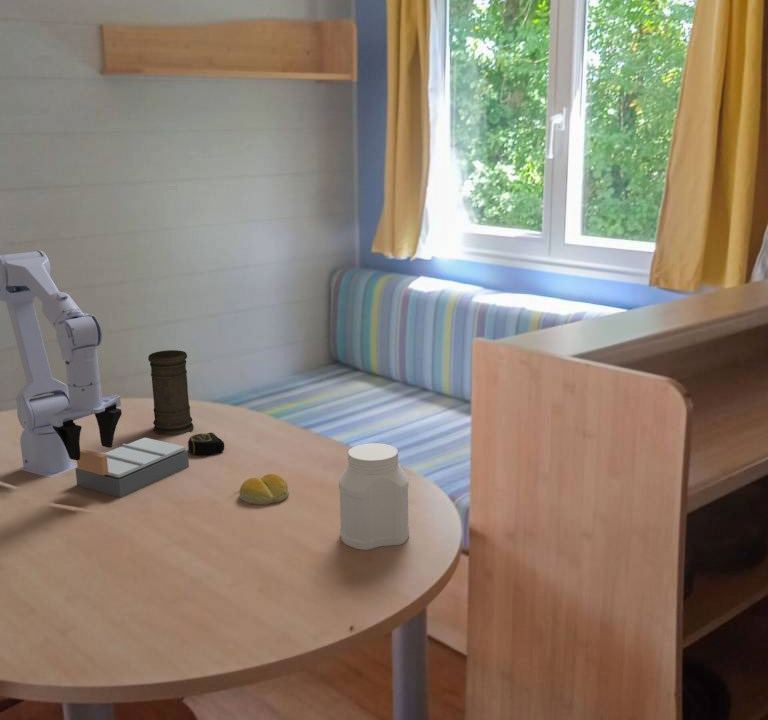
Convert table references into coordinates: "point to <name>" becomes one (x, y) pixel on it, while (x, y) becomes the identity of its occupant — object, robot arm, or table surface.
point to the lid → (127, 457)
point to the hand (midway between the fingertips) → (91, 452)
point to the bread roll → (264, 490)
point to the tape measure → (205, 444)
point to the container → (170, 393)
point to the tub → (133, 476)
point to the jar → (373, 498)
